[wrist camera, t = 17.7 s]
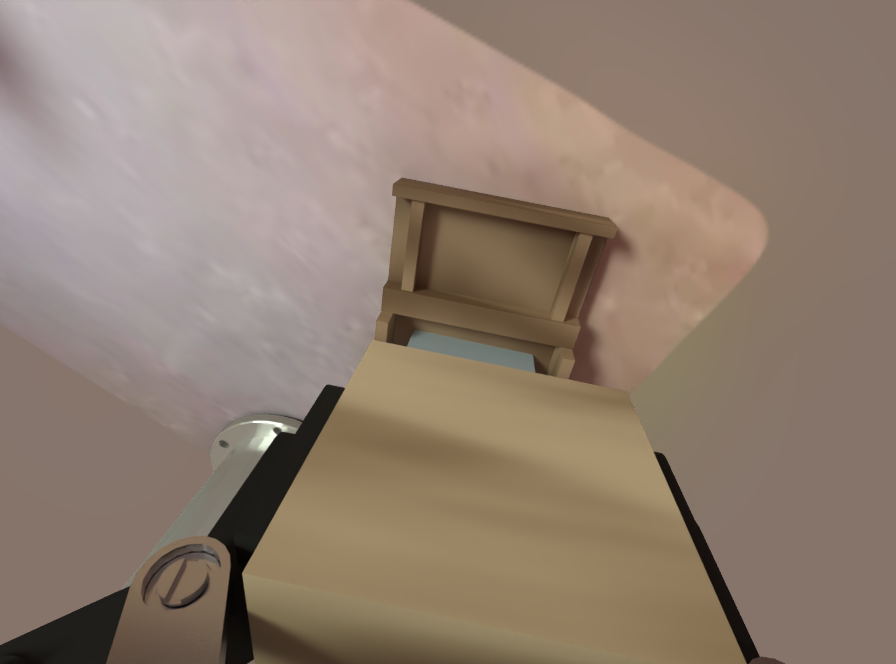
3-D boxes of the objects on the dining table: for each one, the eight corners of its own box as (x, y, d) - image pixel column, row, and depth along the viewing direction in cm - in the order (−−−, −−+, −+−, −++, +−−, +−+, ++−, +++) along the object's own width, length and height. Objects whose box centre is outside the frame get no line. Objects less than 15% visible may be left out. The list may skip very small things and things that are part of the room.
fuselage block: (517, 401, 29) (521, 488, 22) (406, 378, 29) (378, 457, 23) (532, 354, 27) (543, 434, 20) (413, 329, 27) (385, 400, 21)
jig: (536, 419, 31) (540, 453, 28) (380, 387, 31) (366, 417, 28) (608, 217, 23) (624, 234, 20) (401, 177, 24) (387, 188, 21)
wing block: (576, 497, 12) (632, 787, 7) (362, 452, 12) (260, 705, 7) (626, 391, 10) (755, 685, 5) (372, 339, 10) (241, 573, 5)
